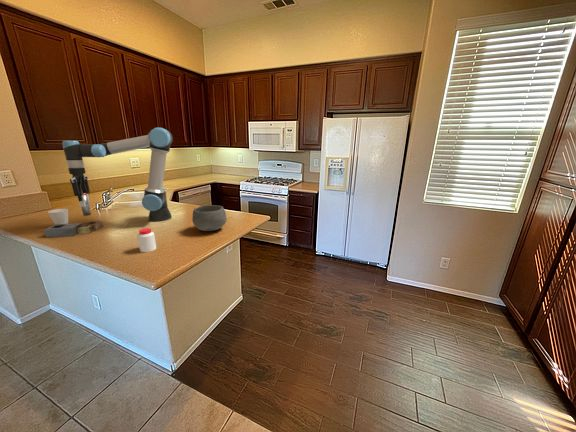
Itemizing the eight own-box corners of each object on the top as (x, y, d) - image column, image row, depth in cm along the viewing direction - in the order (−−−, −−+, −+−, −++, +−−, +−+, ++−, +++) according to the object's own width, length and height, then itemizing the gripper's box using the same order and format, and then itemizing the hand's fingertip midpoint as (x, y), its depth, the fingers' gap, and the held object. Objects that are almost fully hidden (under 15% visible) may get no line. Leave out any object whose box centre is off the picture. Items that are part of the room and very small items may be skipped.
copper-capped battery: (92, 213, 154) (88, 192, 150) (89, 215, 150) (84, 193, 146) (85, 214, 153) (80, 192, 149) (81, 215, 149) (76, 194, 145)
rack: (103, 226, 159) (101, 220, 158) (96, 230, 151) (95, 224, 150) (85, 227, 157) (84, 221, 156) (78, 231, 149) (76, 225, 148)
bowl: (233, 227, 161) (232, 206, 157) (211, 238, 143) (209, 214, 138) (209, 223, 169) (207, 202, 165) (186, 232, 151) (183, 209, 147)
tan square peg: (92, 231, 150) (91, 225, 149) (89, 233, 147) (87, 227, 145) (72, 232, 148) (70, 226, 146) (68, 234, 144) (66, 228, 143)
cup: (60, 229, 152) (55, 213, 149) (48, 228, 154) (43, 212, 151) (76, 224, 162) (72, 209, 159) (64, 223, 164) (60, 208, 160)
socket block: (83, 230, 152) (82, 223, 150) (74, 236, 142) (72, 228, 141) (58, 231, 149) (56, 224, 147) (46, 237, 139) (44, 229, 138)
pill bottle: (144, 246, 130) (141, 227, 127) (159, 246, 130) (156, 227, 127) (136, 252, 122) (133, 232, 119) (152, 252, 123) (149, 232, 120)
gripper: (77, 166, 150) (86, 202, 157) (59, 168, 134) (69, 208, 141) (91, 166, 151) (99, 201, 158) (74, 168, 135) (84, 208, 142)
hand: (85, 204), depth 149 cm, fingers closed on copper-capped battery, 4 cm apart
